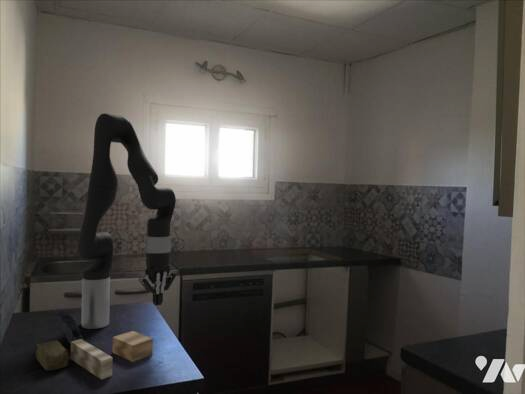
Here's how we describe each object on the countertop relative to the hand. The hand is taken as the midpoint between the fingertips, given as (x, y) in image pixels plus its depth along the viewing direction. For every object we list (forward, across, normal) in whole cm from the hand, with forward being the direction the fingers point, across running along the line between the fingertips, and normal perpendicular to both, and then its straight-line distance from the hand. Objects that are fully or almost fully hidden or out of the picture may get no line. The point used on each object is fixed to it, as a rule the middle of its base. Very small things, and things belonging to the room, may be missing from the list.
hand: (157, 304), depth 129 cm
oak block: (+13, +8, 0) cm, 16 cm away
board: (+13, +22, 0) cm, 25 cm away
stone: (+13, +18, -20) cm, 30 cm away
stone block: (+13, +28, -10) cm, 33 cm away
